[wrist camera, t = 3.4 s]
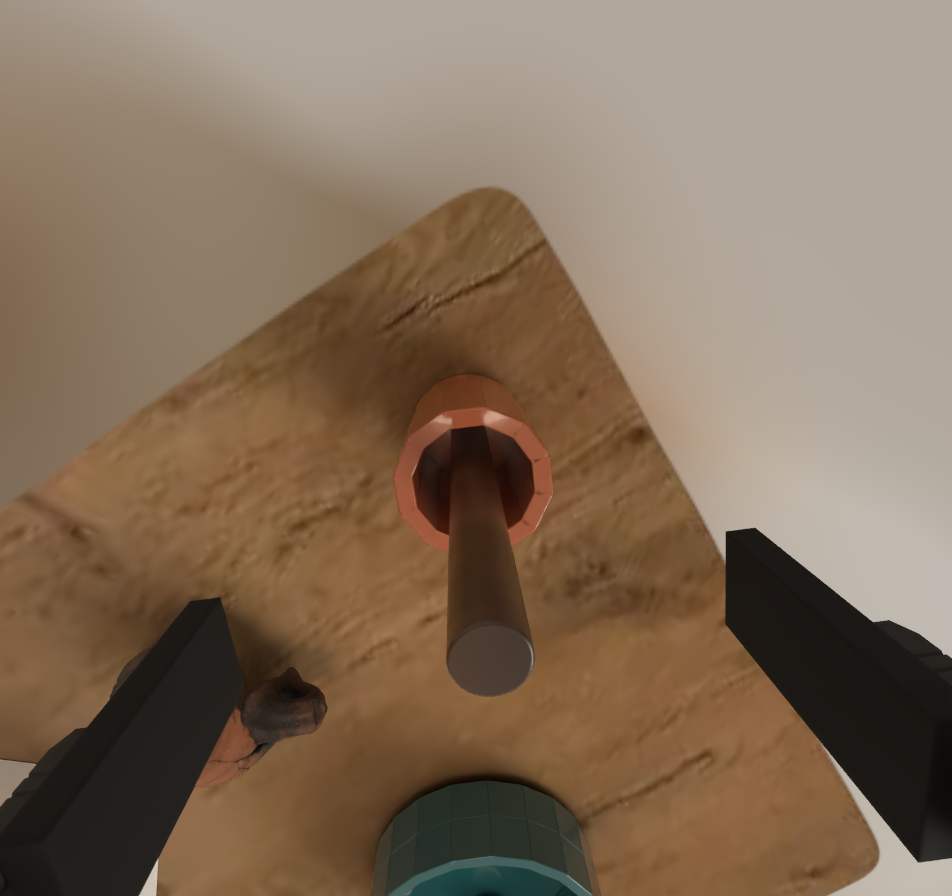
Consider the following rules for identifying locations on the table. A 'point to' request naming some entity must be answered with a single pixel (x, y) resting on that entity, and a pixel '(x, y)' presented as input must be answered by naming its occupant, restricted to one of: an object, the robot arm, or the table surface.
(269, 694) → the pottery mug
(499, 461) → the crock
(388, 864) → the bowl
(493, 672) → the stirring stick
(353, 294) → the table surface
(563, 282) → the table surface
